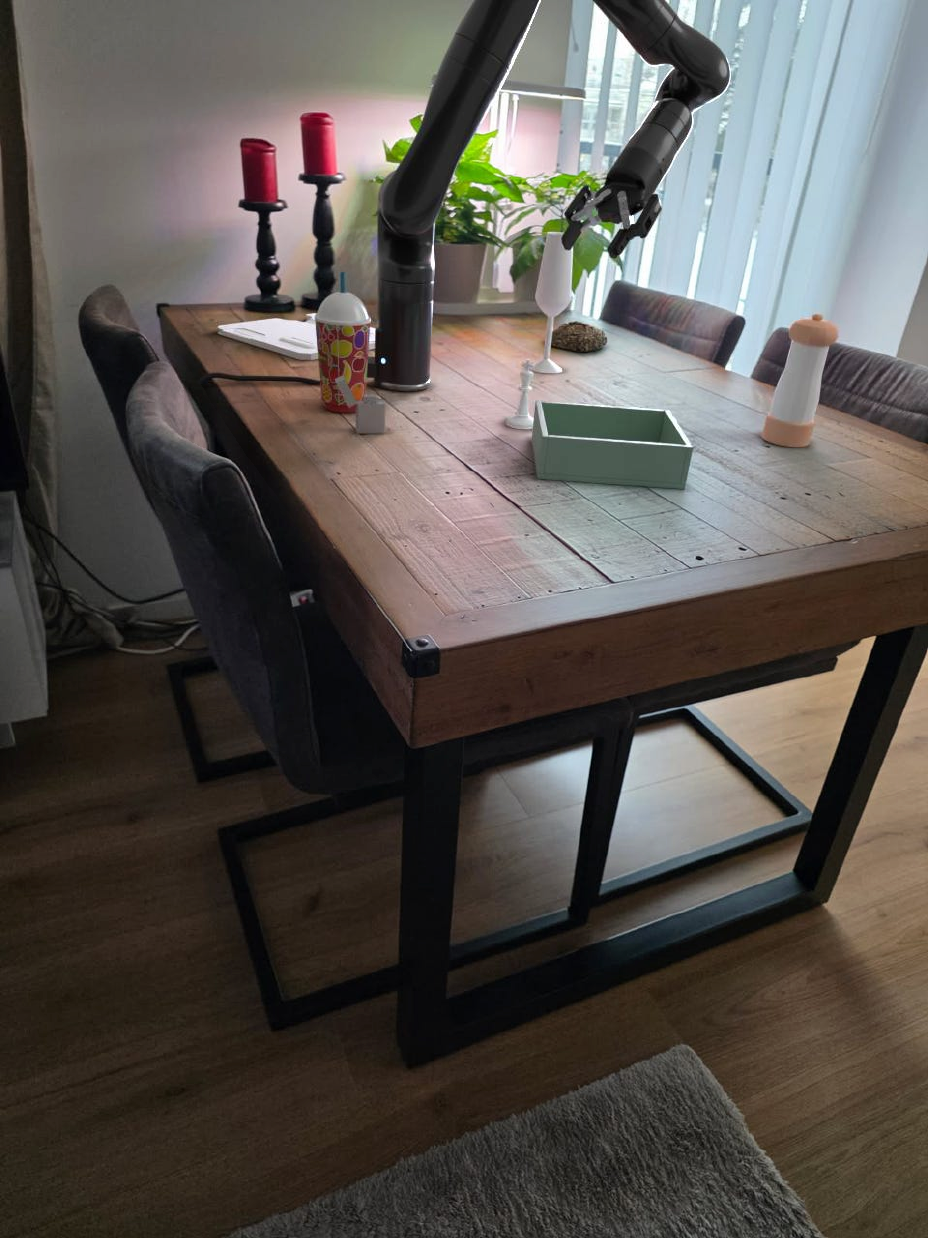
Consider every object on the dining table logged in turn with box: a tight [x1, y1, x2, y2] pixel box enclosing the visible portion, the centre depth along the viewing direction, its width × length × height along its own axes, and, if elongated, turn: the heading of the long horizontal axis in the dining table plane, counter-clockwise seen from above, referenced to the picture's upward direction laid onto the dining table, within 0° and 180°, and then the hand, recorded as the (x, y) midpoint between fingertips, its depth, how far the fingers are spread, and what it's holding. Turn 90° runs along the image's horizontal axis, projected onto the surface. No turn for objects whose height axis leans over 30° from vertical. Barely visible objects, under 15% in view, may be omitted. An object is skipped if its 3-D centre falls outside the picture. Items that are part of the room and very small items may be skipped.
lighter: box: [335, 375, 387, 435], centre depth 122 cm, size 7×2×8 cm, turn 104°
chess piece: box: [505, 358, 534, 431], centre depth 130 cm, size 5×5×10 cm
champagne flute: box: [529, 231, 574, 374], centre depth 159 cm, size 7×7×24 cm
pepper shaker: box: [761, 313, 839, 448], centre depth 130 cm, size 7×7×19 cm
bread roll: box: [551, 320, 608, 353], centre depth 184 cm, size 13×12×5 cm
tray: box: [217, 312, 376, 361], centre depth 174 cm, size 28×28×2 cm
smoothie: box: [315, 271, 372, 414], centre depth 129 cm, size 8×8×20 cm
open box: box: [531, 400, 694, 490], centre depth 118 cm, size 20×17×6 cm
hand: (587, 250), depth 128 cm, fingers open, 8 cm apart
